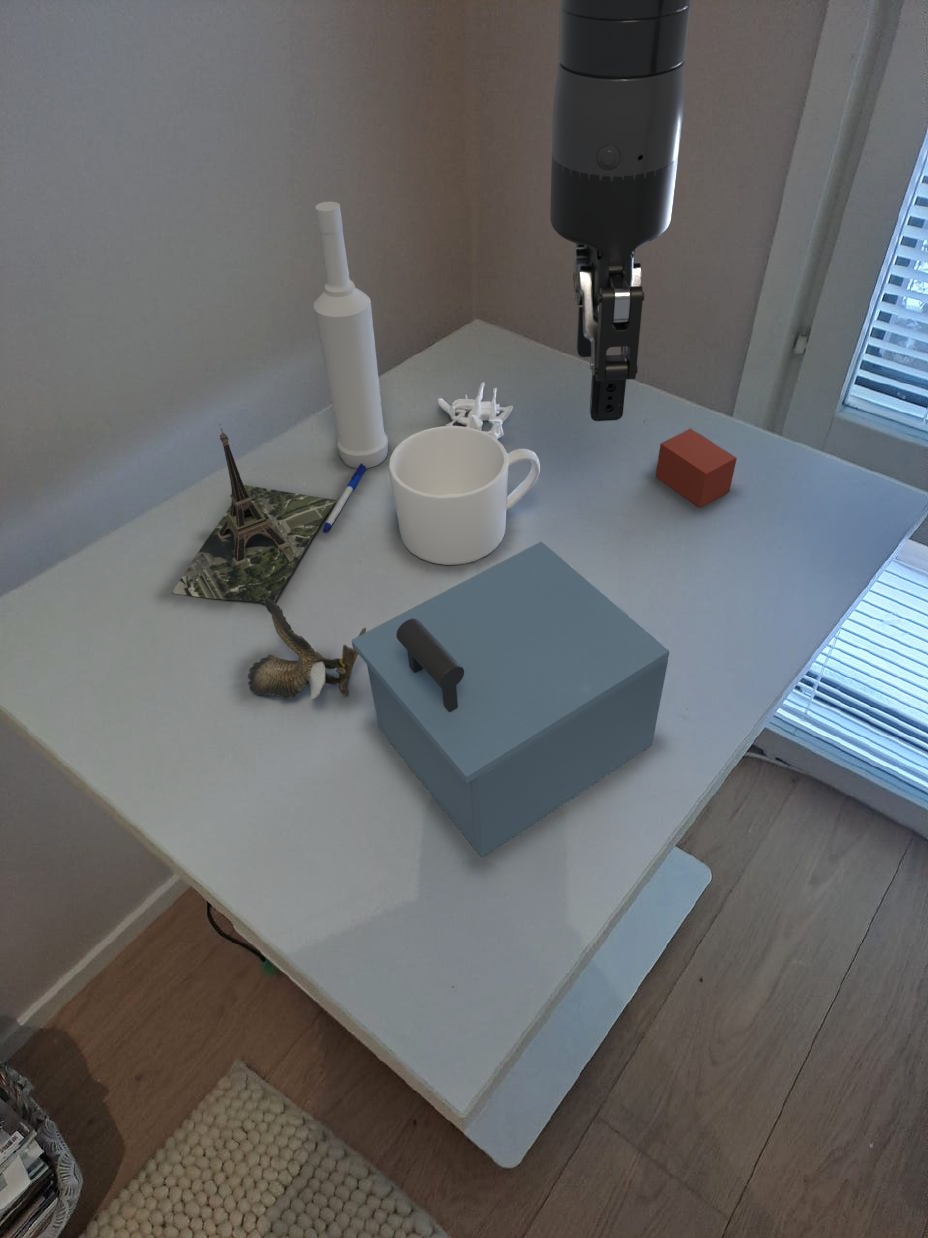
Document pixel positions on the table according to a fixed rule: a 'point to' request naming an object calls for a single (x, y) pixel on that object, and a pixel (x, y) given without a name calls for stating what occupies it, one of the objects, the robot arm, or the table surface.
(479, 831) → the blue-grey box
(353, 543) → the table surface
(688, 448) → the terracotta brick block
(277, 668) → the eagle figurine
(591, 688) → the box lid
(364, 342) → the bottle
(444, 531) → the mug
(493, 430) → the figurine
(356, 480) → the ballpoint pen
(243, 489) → the eiffel tower figurine
